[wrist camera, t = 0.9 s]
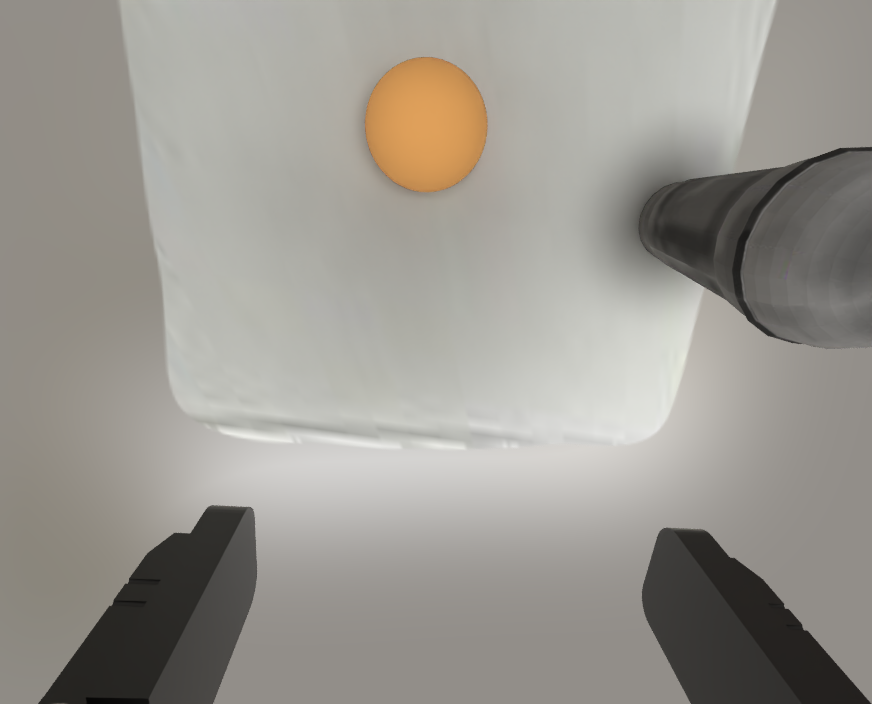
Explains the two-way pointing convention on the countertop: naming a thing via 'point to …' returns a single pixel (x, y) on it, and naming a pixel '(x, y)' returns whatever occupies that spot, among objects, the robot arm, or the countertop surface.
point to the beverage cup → (778, 244)
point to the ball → (426, 124)
